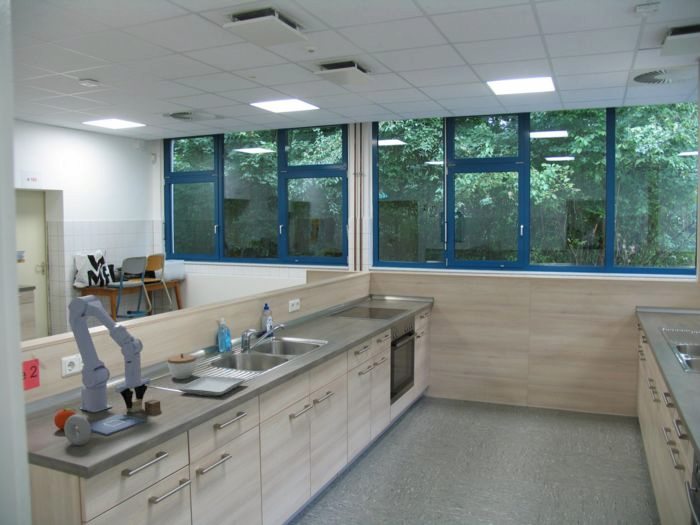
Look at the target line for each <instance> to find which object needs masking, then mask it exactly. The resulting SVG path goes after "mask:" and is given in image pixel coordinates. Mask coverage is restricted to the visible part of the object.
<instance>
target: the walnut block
mask: <svg viewBox="0 0 700 525" xmlns="http://www.w3.org/2000/svg"><path fill="white" fill-rule="evenodd" d="M159 412H161V400H157V399H150V400H147V401H144V413H145V414H146V413H147V414H150V415H153V414H156V413H159Z"/></svg>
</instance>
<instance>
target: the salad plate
mask: <svg viewBox="0 0 700 525" xmlns="http://www.w3.org/2000/svg"><path fill="white" fill-rule="evenodd" d="M245 381H246V378H245V377H244V378H242V377H232V376H231V377H229V376H213V375H212V376H211V375H204V376H202V377H200V378H196V379H195V380H192V381H191V382H188V383H186V384H184V385H182V386H179V387H178V388H177V389H178V390H179V391H180V392H182V393H185V394H191V395H198V394H201V395H200V396H209V395H213V397H219V395H220V396H222V394H223V395H225V394H227V393H229V392H230V391H232V390H234V389H235V388H238V386H241V385H242V384H243V383H244V382H245ZM233 388H234V389H233ZM224 393H225V394H224Z"/></svg>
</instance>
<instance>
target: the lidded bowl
mask: <svg viewBox="0 0 700 525" xmlns="http://www.w3.org/2000/svg"><path fill="white" fill-rule="evenodd" d="M196 360H197V357H196V355H192V354H184V353H180V354H179V355H178V354H177V355H173V356H170V357H168V358H167V364H168V370H169V372H170V374H171V376H172V377H174V379H177V380H182V379H183V380H184V379H190V378H191V377H192V374H194V372H195V370H196V364H197V361H196Z"/></svg>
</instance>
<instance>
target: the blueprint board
mask: <svg viewBox="0 0 700 525" xmlns="http://www.w3.org/2000/svg"><path fill="white" fill-rule="evenodd" d="M146 422H147V419H142V418H139V417H134V416H130V415H127V414H122V413H119V414H116V415H113V416H110V417H107V418H103V419H101V420H98V421H95V422H92V423H89V424H90V428H91V433H97V434H100V435H103V436H106V437H107V436H109V435H112V434H116V433H118V432H122V431H124V430H127V429H129V428H132V427H134V426H135V427H136V426H137V425H141V424H143V423H146Z"/></svg>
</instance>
